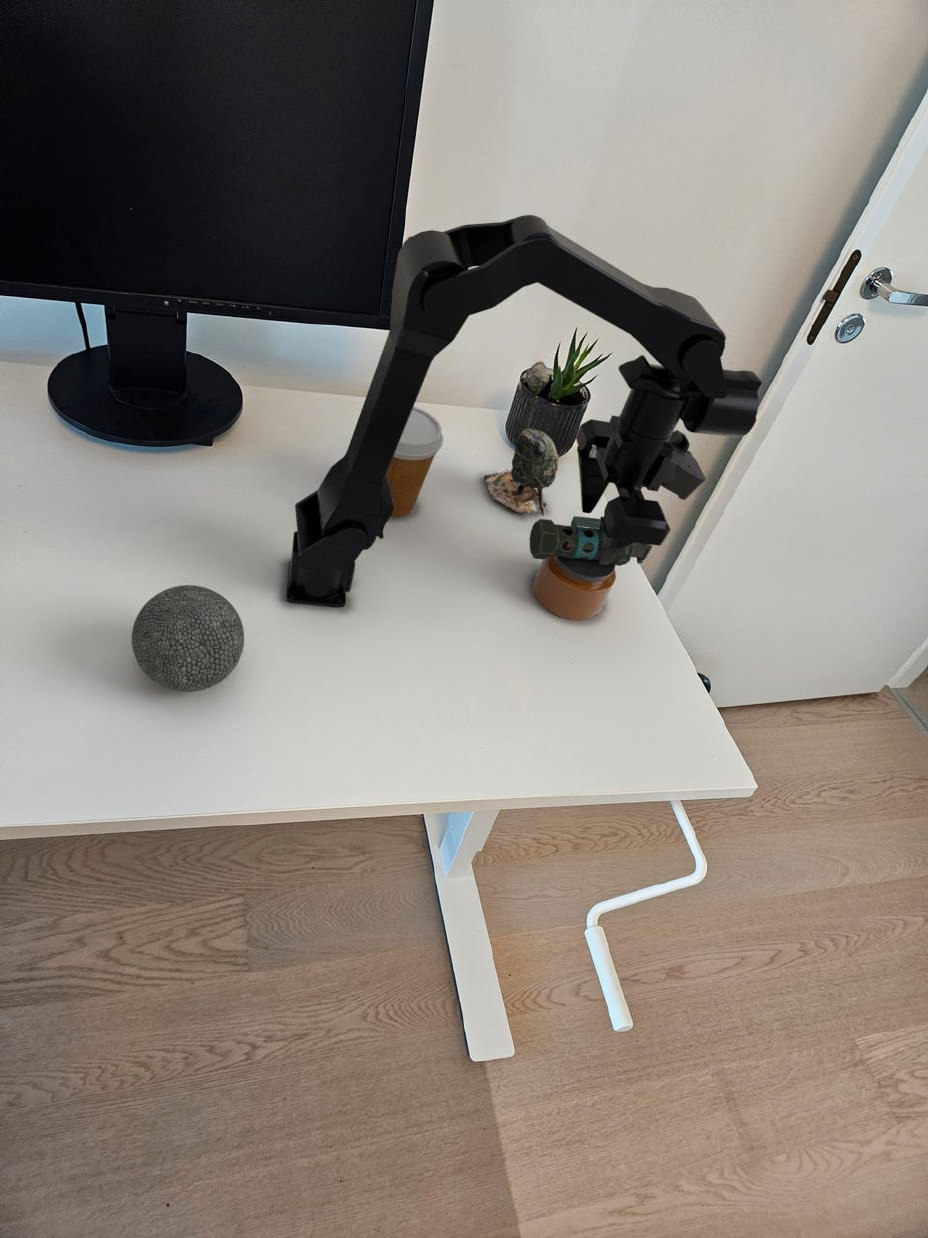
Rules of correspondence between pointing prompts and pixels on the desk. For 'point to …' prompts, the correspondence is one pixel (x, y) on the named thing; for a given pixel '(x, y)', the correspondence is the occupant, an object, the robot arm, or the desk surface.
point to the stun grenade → (577, 541)
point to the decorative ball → (188, 638)
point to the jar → (573, 586)
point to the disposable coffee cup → (413, 459)
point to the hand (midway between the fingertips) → (594, 537)
